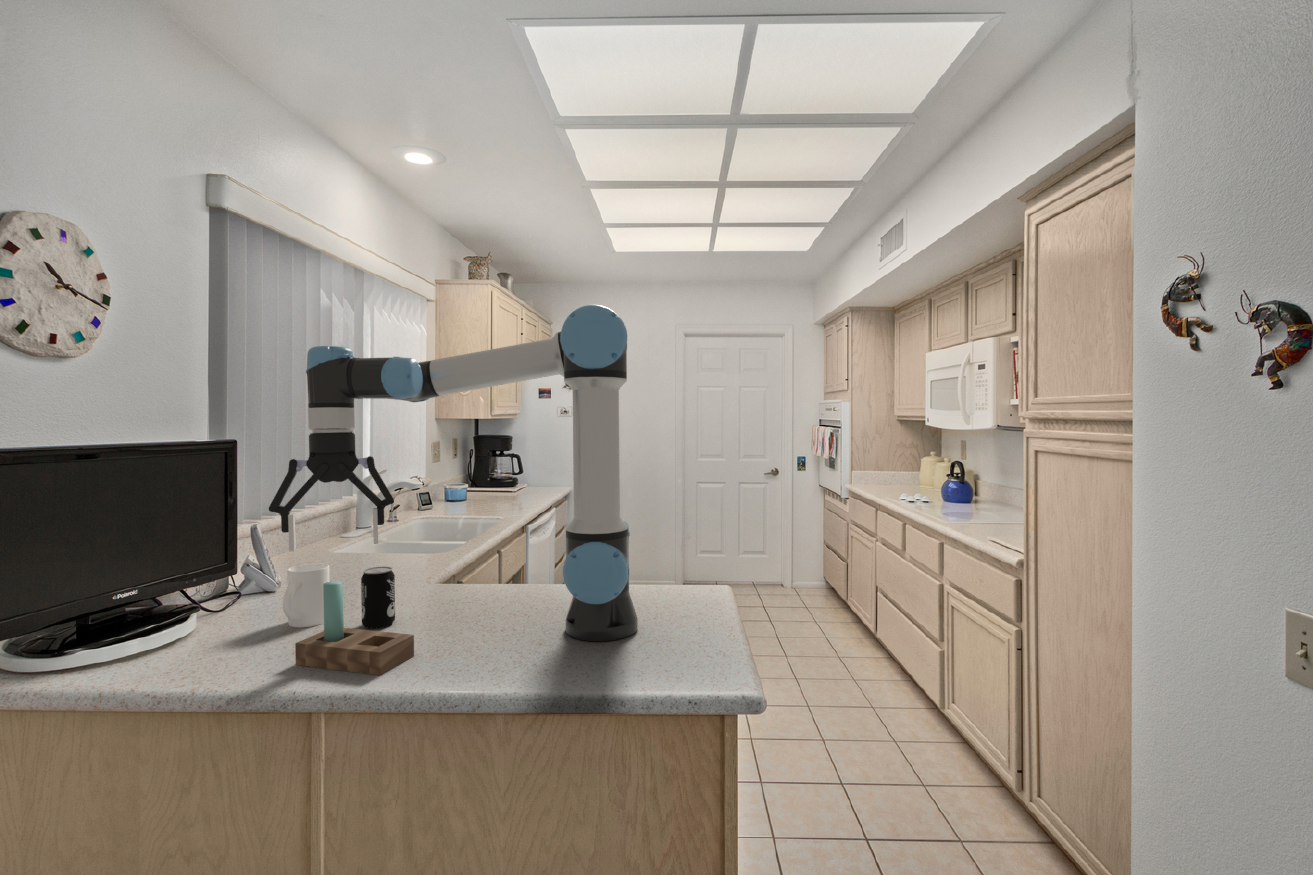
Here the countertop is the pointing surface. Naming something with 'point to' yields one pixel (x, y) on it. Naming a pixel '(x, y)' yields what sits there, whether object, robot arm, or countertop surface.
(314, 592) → the mug
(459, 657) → the countertop surface
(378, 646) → the hole block
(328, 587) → the peg
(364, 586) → the beverage can
